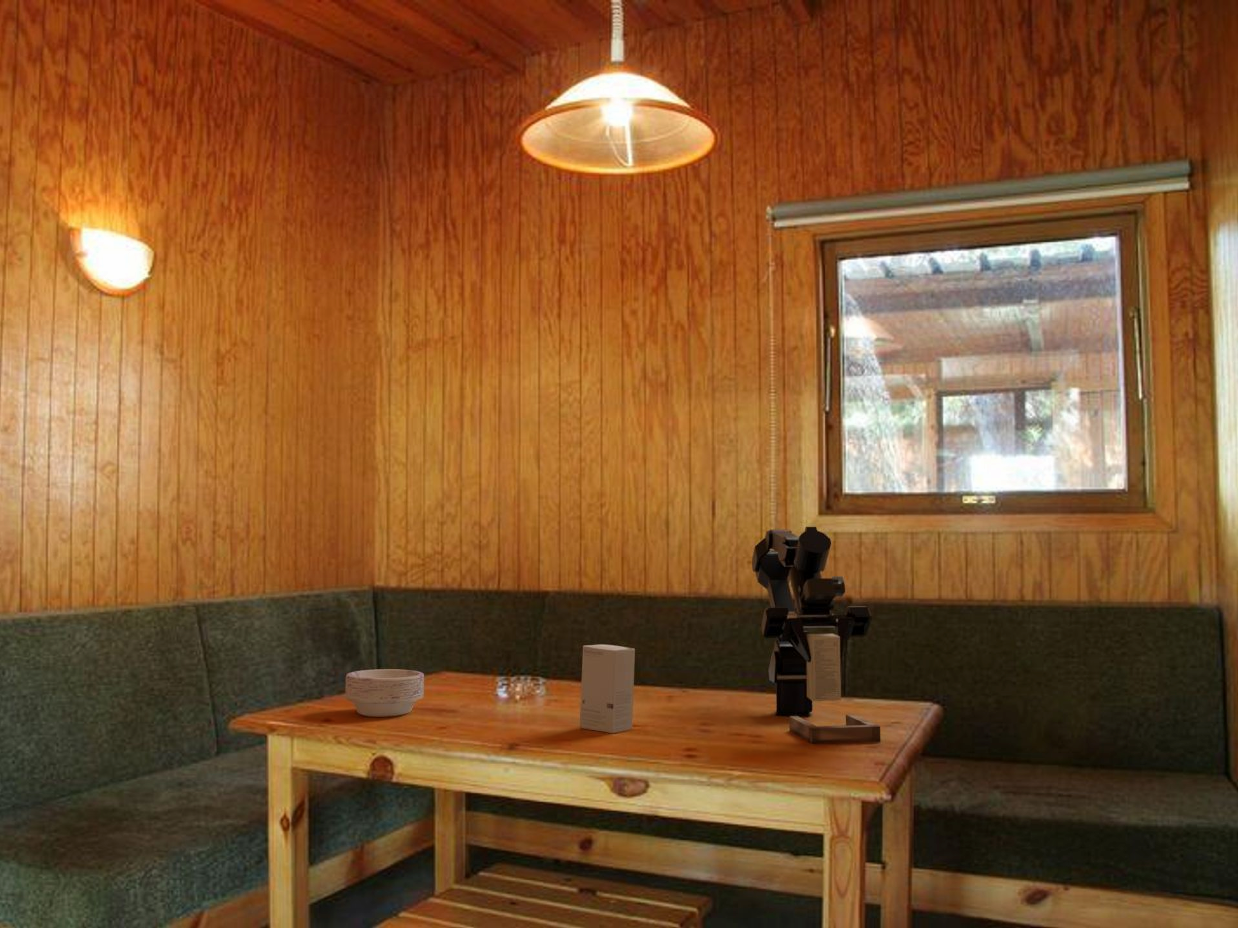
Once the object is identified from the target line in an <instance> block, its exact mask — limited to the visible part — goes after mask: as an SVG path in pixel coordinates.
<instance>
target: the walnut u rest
mask: <svg viewBox="0 0 1238 928" xmlns="http://www.w3.org/2000/svg"><path fill="white" fill-rule="evenodd" d="M788 716H789V717H788V718H789V719H788V720H789V731H790V732H791V733H793V734H795V735H796V736H798V737H800V738H801V739H803V740H805V741H806V742H808V743H810V744H812V745H816V744H817V745H818V744H819V745H820V744H824V745H825V744H844V743H845V744H846V743H874V742H873V741H878V742H882V741H881V726H880V725H878V724H877V723H874V722H872V721H869V720H867V719H865V718H863V717H861V716H859V715H857V714H854V713H850V714H849V713H848V714H847V713H846V714H845V725H844V724H843V725H842V724H841V725H838V724H837V725H815V724H813V723H811V722H809V721H808V720H805V719H803V718H802V717H801V716H793V715H788ZM871 741H872V742H871Z"/></svg>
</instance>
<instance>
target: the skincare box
mask: <svg viewBox="0 0 1238 928" xmlns="http://www.w3.org/2000/svg"><path fill="white" fill-rule="evenodd" d="M635 654H636V649H635V648H633V647H627V646H620V645H612V644H590V645H587V644H586V645H582V664H581V665H582V666H581V667H582V668H581V683H580V684H581V686H580V707H579V708H580V709H579V710H580V711H579V713H580V714H579V727H580V729H583V730H584V729H585V730H590V731H597V732H598V731H599V732H603V733H604V732H605V733H608V734H616V733H621V732H626V731H631V730H633V721H634V720H633V719H634V718H633V717H634V715H633V713H634V689H635V688H634V687H635V686H634V684H635V683H634V682H635V661H636V660H635V659H636V656H635Z"/></svg>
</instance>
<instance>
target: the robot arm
mask: <svg viewBox="0 0 1238 928" xmlns="http://www.w3.org/2000/svg"><path fill="white" fill-rule="evenodd" d="M831 546H832V540H831V538H830V537H829V536H828V535H827V534H825V533H824V532H822V531H819V530H818V528H817V526H805V528H804V531H803V532H802V533H801V534H800V535H799V536H798V535H796V534H794V533H792V530H789V529H770V530H766V532H765V537H764V538H763V539H761V540H760V542H758V543H757V544H756V545H755V546H754V548H753V553H752V557H751V558H752V559H751V568H752V572H753V573H755V574H754V575H755V577H756V581H757V583H758V584H759V585H761V586H762V587H763V588H764V589H766V590H767V595H768V600H769V604H770V606H768V607H766V608H765V609H764V612H763V616H762V619H761V620H762V621H761V632H762V637H764V638H765V639H775V643H774V647H773V650H772V653H771V657H770V661H769V666H768V677H769V678H768V679H769V681H770V682H772V683H773V684H775V696H776V697H775V701H776V702H775V704H776V705H775V706H776V707H775V709H776V710H775V712H774V713H775V715H776V716H798V717H801V716H802V717H804V716H805V717H808V716H809V717H810V715H811V713H812V712H813V710H814V705H813V704H814V703H813V702H814V701H812V700H811V699H809V698H808V697H807V662H811V654H810V649H809V646H808V643H807V640H806V634H810V632H809V631H807V630H805V629H809V628H810V629H811V628H812V629H813V628H814V629H816V628H817V629H819V628H820V629H821V628H822V629H823V628H827V629H828V628H832V629H834V633H833V634H835V635H837V636H839V637H840V663H841V662H842V660H843V656H844V647H845V641H849V640H850V639H851V638H862V637H865V636H867V634H868V632H869V631H868V630H869V627H870V625H871V621H872V618H873V616H872V612H871V609H870V608H869V607H868V606H865V605H862V606H861V605H854V606H853V605H849V606H846V607H845V611H844V614H834V613H831V611H832V610H833V611H834V607H835V604H834V599H835V598H836V597H839V598H840V597H843V596H844V595H845V593H846V585H845V580H844V578H843V576H832V577H822V573H821V572H825V569H826V565H827V563H828V562H827V561H828V559H829V554H830V550H831ZM790 587H791V588H790ZM791 589H792V592H791ZM792 594H793V596H792ZM793 599H794V600H793ZM778 675H779V676H778Z"/></svg>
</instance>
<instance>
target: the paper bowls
mask: <svg viewBox="0 0 1238 928" xmlns="http://www.w3.org/2000/svg"><path fill="white" fill-rule="evenodd" d="M344 688H345V689H344V691H345V693H344V695H345V696H344V697H345V699H346V700H347V701H348V702H352V703H353V704H354V707H355V710H356V712H357V713H358V714H359V715H362V716H365V717H372V718H388V717H397V716H403V715H406V714H408V713H410V712H411V711H412V709H413V707H414V705H415V703H416V702H417V701H418V700H421V699H423V698H424V693H425V674H424V673H423V672H421V671H418V670H412V669H411V670H408V669H393V668H391V669H389V668H386V669H385V668H383V669H382V668H381V669H364V670H355V671H352V672H348V673H347V674H346V675H345V687H344Z"/></svg>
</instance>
